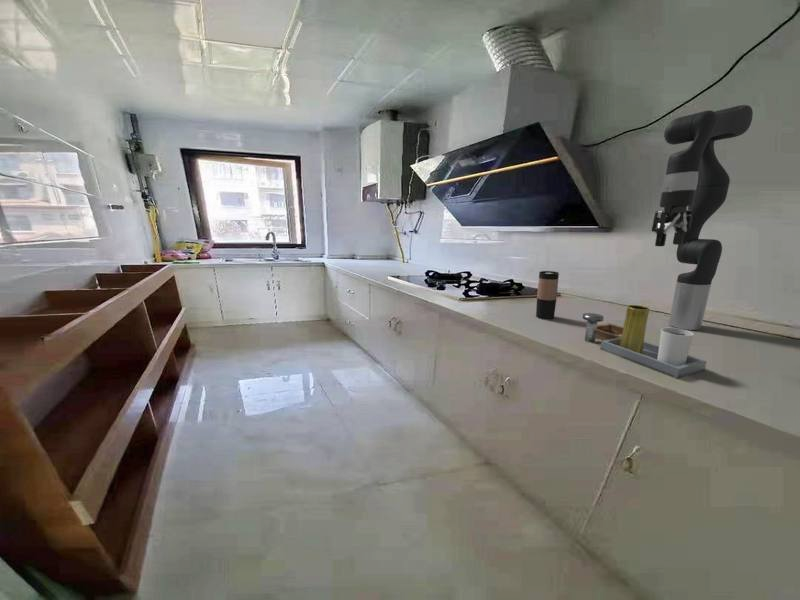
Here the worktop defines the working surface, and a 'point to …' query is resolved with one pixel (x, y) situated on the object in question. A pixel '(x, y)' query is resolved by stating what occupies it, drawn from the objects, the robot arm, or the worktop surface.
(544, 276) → the travel mug
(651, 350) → the tray
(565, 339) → the worktop surface
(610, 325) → the holder
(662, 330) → the white cup
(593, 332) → the knob post
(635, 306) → the vase
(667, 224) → the robot arm
